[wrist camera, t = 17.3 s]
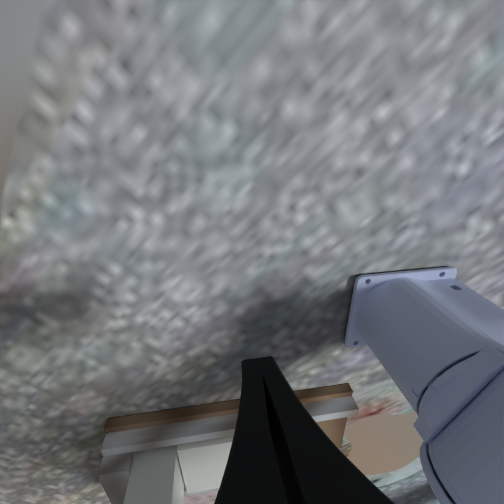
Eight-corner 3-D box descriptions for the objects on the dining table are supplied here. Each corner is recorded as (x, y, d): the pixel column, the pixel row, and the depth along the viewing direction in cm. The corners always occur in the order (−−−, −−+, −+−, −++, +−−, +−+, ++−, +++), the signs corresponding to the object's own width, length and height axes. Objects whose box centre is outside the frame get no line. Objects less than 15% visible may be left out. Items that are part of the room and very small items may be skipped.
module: (178, 434, 28) (170, 516, 22) (185, 467, 30) (180, 547, 24) (137, 441, 27) (118, 526, 21) (148, 473, 30) (134, 557, 24)
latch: (275, 416, 28) (286, 461, 25) (274, 459, 32) (283, 504, 28) (178, 431, 27) (173, 481, 23) (188, 474, 31) (185, 523, 27)
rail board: (348, 383, 29) (367, 419, 26) (335, 447, 35) (350, 484, 31) (107, 418, 26) (91, 464, 23) (133, 482, 32) (123, 528, 28)
